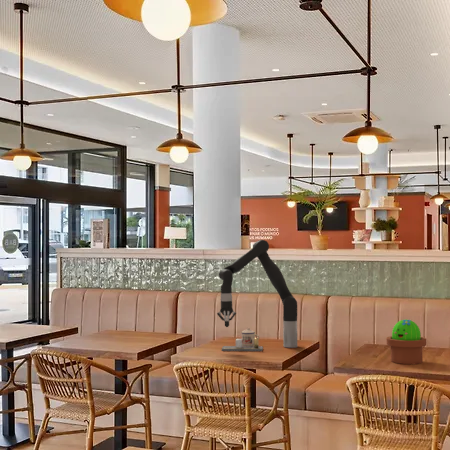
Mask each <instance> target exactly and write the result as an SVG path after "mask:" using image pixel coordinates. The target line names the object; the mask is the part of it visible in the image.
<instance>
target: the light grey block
mask: <svg viewBox="0 0 450 450" xmlns="http://www.w3.org/2000/svg"><path fill="white" fill-rule="evenodd" d="M235 346H236V348H242V346H243V345H242V338H236V339H235Z"/></svg>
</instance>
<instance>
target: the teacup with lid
mask: <svg viewBox="0 0 450 450" xmlns="http://www.w3.org/2000/svg"><path fill="white" fill-rule="evenodd" d="M255 336H256V337H255ZM254 338H258V341H259V339H260V335H258V334H256V331H254V330H252V329H250V327H247V328H246V329H244V330H242V331H241V339H242V346H254Z"/></svg>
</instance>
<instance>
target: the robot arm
mask: <svg viewBox="0 0 450 450" xmlns="http://www.w3.org/2000/svg"><path fill="white" fill-rule="evenodd" d="M269 249H270V245H269V242H268V241H267V240H265V239H260V240H257V241H255V242H254V243H253V244H252V248H251V249H250V250H249V251H248V252H246V253H244V254H242V255H241V256H240V257H238V258H237V259H235V260H234V261H233V262H232V263H230V264H229V265H227V266H225V267H223V268H222V269H221V270H220V271H219V273H218V278H219V279H220V280H222V284H221V286H220V309H219V311H218V312H217V313H216V314H217V316H218V317H219V318H220V320H221V321H224V327H226V328H229V326H230V321H232V320H233V319H234V317H235V316H236V314H237V312H236V311H234V308H233V294H232V293H233V292H232V290H233V289H232V285H233V281H234V274H236V273H237V274H238V273H239V272H240V271H242V270H243V269H244V268H245V267H246V266H248V265H249V264H250V263H251V262H252V261H253V260H255V259H256V258H257V259H258V261H259V263H260V264H261V266H262V268H263V270H264V271H265V274H266V276H267V277H268V279H269V281H270V283H271V284H272V286H273V288H274V289H275V290H276V291H277V293H278V296H279V298H280V300H281V302H282V307H283V308H282V309H283V311H282V313H283V315H282V316H283V317H282V319H283V321H282V323H283V324H282V325H283V327H282V328H283V330H282V331H283V334H282V335H283V338H282V339H283V347H284V348H290V349H291V348H293V349H294V348H298V301H297V300H296V298H295V297H294V295H293V294H292V293H291V291H290V290H289V288H288V285H287V282H286V279H285V277H284V275H283V273H282V271H281V270H280V267H279V266H278V265H277V264H276V263H275V262H274V261H273V260H272V259H271V257H270V255H269V253H268V251H269ZM231 314H232V315H231ZM230 316H231V317H230Z"/></svg>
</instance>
